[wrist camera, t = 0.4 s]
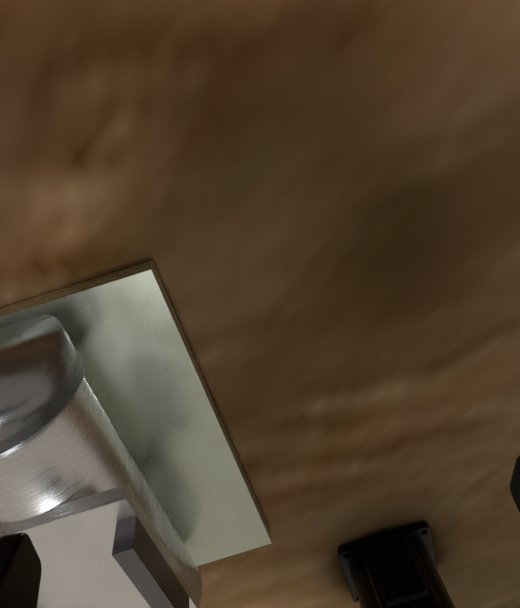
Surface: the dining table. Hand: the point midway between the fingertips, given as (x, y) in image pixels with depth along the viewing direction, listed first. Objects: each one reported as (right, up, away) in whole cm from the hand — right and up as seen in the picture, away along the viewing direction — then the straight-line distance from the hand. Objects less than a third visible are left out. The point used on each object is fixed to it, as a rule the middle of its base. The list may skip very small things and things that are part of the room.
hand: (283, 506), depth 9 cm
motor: (-9, -5, +17) cm, 20 cm away
